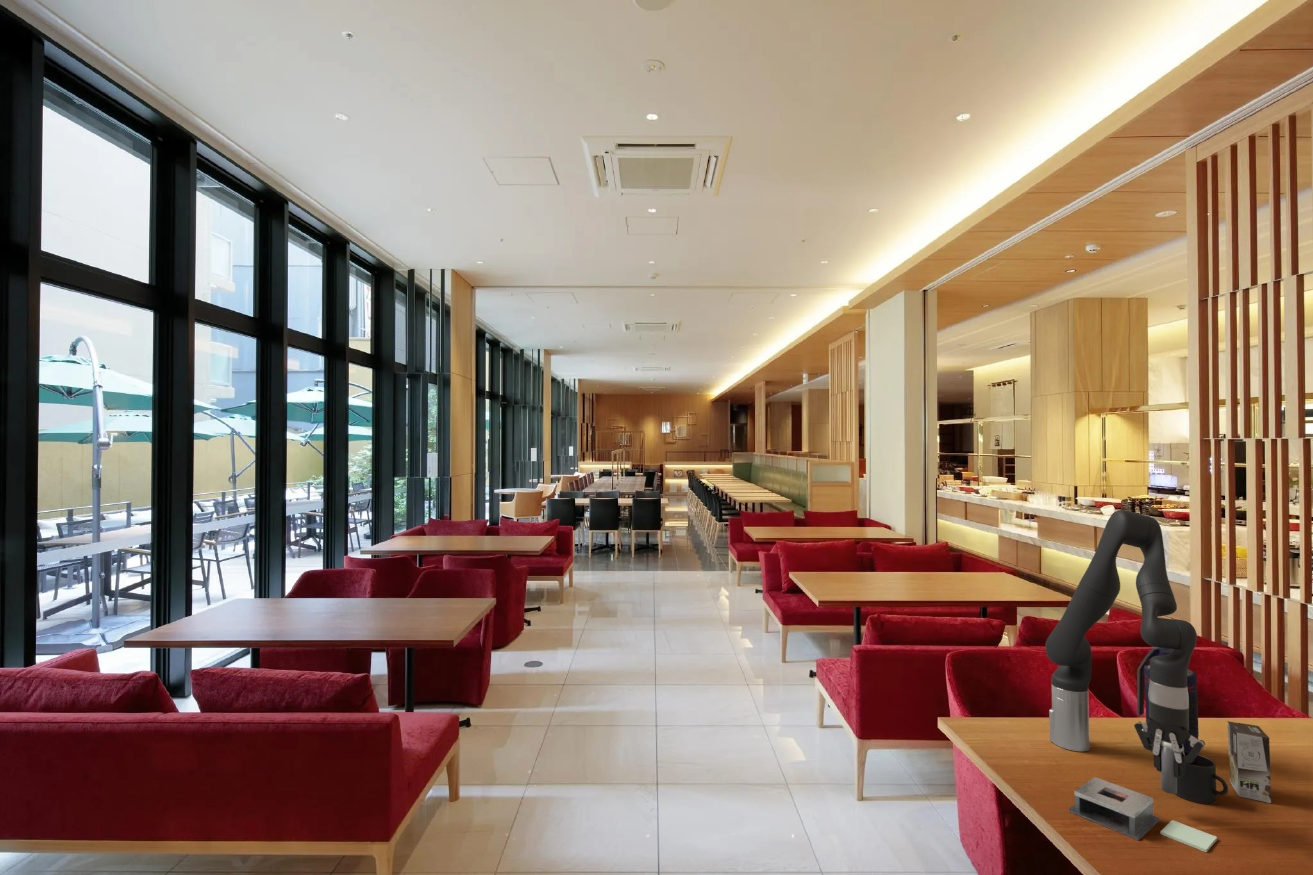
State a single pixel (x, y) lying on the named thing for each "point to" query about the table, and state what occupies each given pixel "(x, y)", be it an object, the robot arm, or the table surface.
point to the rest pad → (1189, 836)
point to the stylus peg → (1168, 768)
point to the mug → (1200, 781)
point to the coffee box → (1249, 761)
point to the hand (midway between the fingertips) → (1168, 773)
